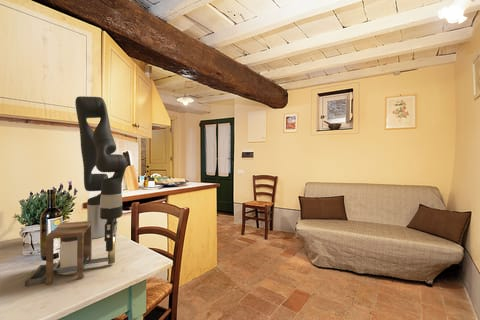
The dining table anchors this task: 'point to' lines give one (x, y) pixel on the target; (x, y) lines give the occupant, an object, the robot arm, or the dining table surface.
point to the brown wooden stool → (83, 245)
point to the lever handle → (87, 261)
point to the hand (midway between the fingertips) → (110, 246)
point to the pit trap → (38, 276)
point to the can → (68, 254)
